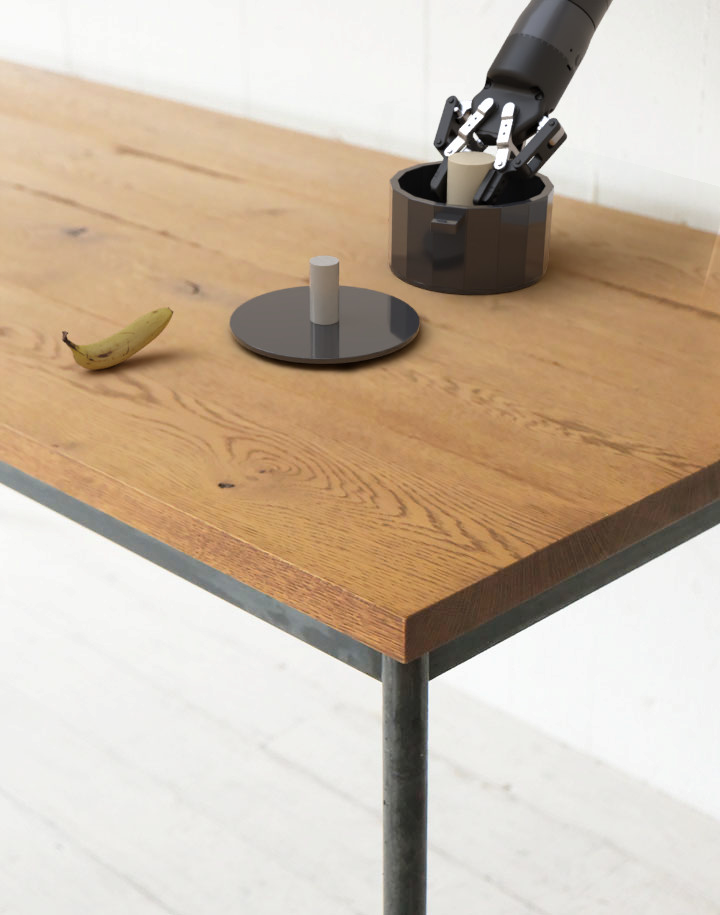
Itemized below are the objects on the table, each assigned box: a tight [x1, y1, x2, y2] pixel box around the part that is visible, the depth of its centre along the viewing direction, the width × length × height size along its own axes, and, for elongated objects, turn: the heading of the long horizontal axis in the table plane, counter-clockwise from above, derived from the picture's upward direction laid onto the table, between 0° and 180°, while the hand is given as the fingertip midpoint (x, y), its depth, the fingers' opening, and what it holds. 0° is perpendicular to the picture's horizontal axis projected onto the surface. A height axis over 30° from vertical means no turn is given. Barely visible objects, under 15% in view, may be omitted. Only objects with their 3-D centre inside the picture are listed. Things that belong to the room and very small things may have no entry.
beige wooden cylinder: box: [447, 151, 496, 206], centre depth 131 cm, size 5×5×9 cm
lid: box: [228, 255, 421, 365], centre depth 118 cm, size 17×17×7 cm
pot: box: [387, 160, 555, 296], centre depth 132 cm, size 16×21×8 cm
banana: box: [61, 307, 174, 371], centre depth 113 cm, size 10×2×4 cm, turn 126°
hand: (458, 201), depth 130 cm, fingers closed on beige wooden cylinder, 4 cm apart
